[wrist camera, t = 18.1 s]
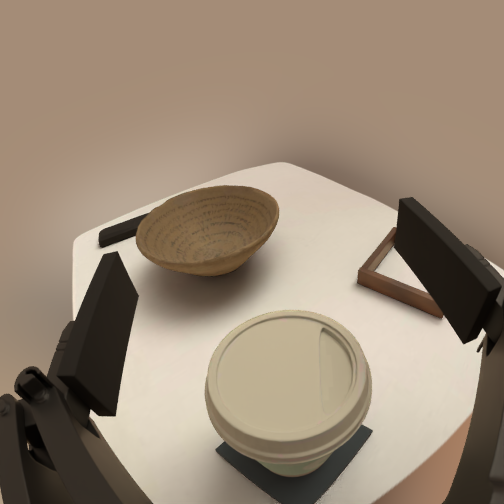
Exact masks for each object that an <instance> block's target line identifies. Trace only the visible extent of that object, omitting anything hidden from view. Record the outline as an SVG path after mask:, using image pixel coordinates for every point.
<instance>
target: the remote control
mask: <svg viewBox="0 0 504 504" xmlns="http://www.w3.org/2000/svg"><path fill="white" fill-rule="evenodd" d="M148 214H149V213H147V214H144V215H141V216H138V217H136V218H133V219H130V220H127V221H125V222H122V223H119V224H117V225H114V226H111V227H108V228H105V229H103V230H101V231H100V233H99V239H98V240H99V244H100V247H104V246H107V245H110V244H112V243H115V242H118V241H120V240H123V239H126V238H128V237H131V236H134V235H136V233H137V230H138V226H139V224H140V223H141V221H142V220H143V219H144V218H145V217H146V216H147V215H148Z"/></svg>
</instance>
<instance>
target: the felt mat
mask: <svg viewBox="0 0 504 504" xmlns="http://www.w3.org/2000/svg"><path fill="white" fill-rule="evenodd" d="M372 431H373V430H371V429H369V428H367V427H366V426H364V425H362V424H361V426H360V427H359V428H358V430H357V431H356V432H355V434H354V435H353V436H352V437H351V438H350V439H349V440H348V441H347V442H345V443H344V444H343V445H342V446H340V447H339V448H337V449H336V450H334V452H333V453H332V454H331V455H330V456H329V458H328V459H327V460H326V461H325V462H324V463H323V464H322V465H321V466H320V467H319V468H318V469H316V470H315V471H313V472H311V473H309V474H307V475H303V476H299V477H286V476H281V475H278V474H276V473H273V472H272V471H270V470H269V469H267V468H266V467H264V466H263V465H262V464H260V463H259V462H258V461H257V460H255V459H252V458H250V457H247V456H245V455H243V454H241V453H240V452H238V451H236V450H235V449H233V448H232V447H231V446H230V445H228V444H227V443H226V442H225V441H224V442H223V443H222V444H221V445H220V446H219V447H218V448H216V449H215V450H216V452H217V453H219V454H220V455H221V456H222V457H223V458H224V459H225V460H227V461H228V462H229V463H230V464H231V465H232V466H234V467H235V468H236V469H237V470H238V471H239V472H241V473H242V474H243V475H244V476H246V477H247V478H248V479H249V480H251V481H252V482H253V483H254V484H256V485H257V486H258V487H259V488H261V489H262V490H263V491H265V492H266V493H267V494H269V495H270V496H271V497H273V498H274V499H276V500H277V501H278V502H280V503H281V504H314V503H315V502H316V501H317V500H318V499H319V498H320V497H321V496H322V495H323V494H324V492H325V491H326V490H327V489H328V488H329V487H330V486H331V485H332V483H333V482H334V481H335V480H336V479H337V477H338V476H339V475H340V474H341V473H342V471H343V470H344V469H345V468H346V467H347V465H348V464H349V463H350V461H351V460H352V459H353V458H354V456H355V455H356V454H357V452H358V451H359V450H360V448H361V447H362V446H363V444H364V443H365V442H366V440H367V439H368V437H369V436H370V435H371V433H372Z"/></svg>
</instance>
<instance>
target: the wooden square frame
mask: <svg viewBox="0 0 504 504" xmlns="http://www.w3.org/2000/svg"><path fill="white" fill-rule="evenodd" d="M395 236H396V227H393V228H392V230H391V231H390V232H389V234H388V235H387V236H386V237H385V239H384V240H383V241H382V242H381V244H380V245H379V246H378V247H377V249H376V250H375V251H374V252H373V254H372V255H371V256H370V257H369V258H368V260H367V261H366V262H365V263H364V264H363V266H362V267H361V268H360V269H359V270H358V279H357V283H358V284H360V285H363V286H365V287H368V288H370V289H372V290H375V291H377V292H380V293H382V294H384V295H387V296H389V297H392V298H394V299H396V300H399V301H401V302H403V303H406V304H408V305H410V306H413V307H415V308H418V309H420V310H422V311H425V312H427V313H429V314H432V315H434V316H436V317H439V318H441V319H442V318H443V315H444V314H443V313H442V311H441V310H440V308H439V307H438V305H437V304H436V302H435V301H434V300H433V298H432V297H431V295H430V294H429V293H426V292H424V291H421V290H419V289H416V288H414V287H411V286H409V285H406V284H404V283H401V282H399V281H396V280H394V279H391V278H389V277H386V276H384V275H381V274H379V273H376V272H374V270H375V269H376V267H377V266H378V265H379V264H380V262H381V261H382V260H383V258H384V257H385V256H386V254H387V253H388V251H389V250H390V249H391V247H392V246H393V245H394V243H395Z"/></svg>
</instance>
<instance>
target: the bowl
mask: <svg viewBox="0 0 504 504" xmlns="http://www.w3.org/2000/svg"><path fill="white" fill-rule="evenodd" d="M278 219H279V207H278V204H277V202H276V200H275V199H274V198H273V197H272V196H271V195H269V194H267V193H266V192H263V191H261V190H259V189H256V188H252V187H246V186H227V185H224V186H214V187H208V188H201V189H197V190H193V191H190V192H186V193H183V194H180V195H178V196H175V197H173V198H171V199H169V200H167V201H166V202H165V203H163V204H162V205H161V206H159V207H156V208H154V209H153V210H152V211H151V212H150V213H149V214H148V215H147V216H146V217H145V218H144V219H143V220H142V221H141V223H140V224H139V226H138V230H137V233H136V244H137V247H138V249H139V250H140V252H141V253H142V254H143V255H144V256H145V257H146V258H147V259H149V260H150V261H152V262H154V263H155V264H157V265H159V266H161V267H163V268H166V269H169V270H173V271H177V272H183V273H189V274H193V275H197V276H217V275H222V274H226V273H229V272H232V271H234V270H236V269H237V268H238V267H240V266H241V265H242V264H243V263H244V262H245V261H246V260H247V259H248V258H249V257H250V256H251V255H252V254H254V253H255V252H256V251H257V250H258V249H259V248H260V247H261V246H262V245H263V244H264V243H265V242H266V241H267V240H268V238H269V237H270V235H271V234H272V232H273V231H274V229H275V227H276V225H277V222H278Z"/></svg>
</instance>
